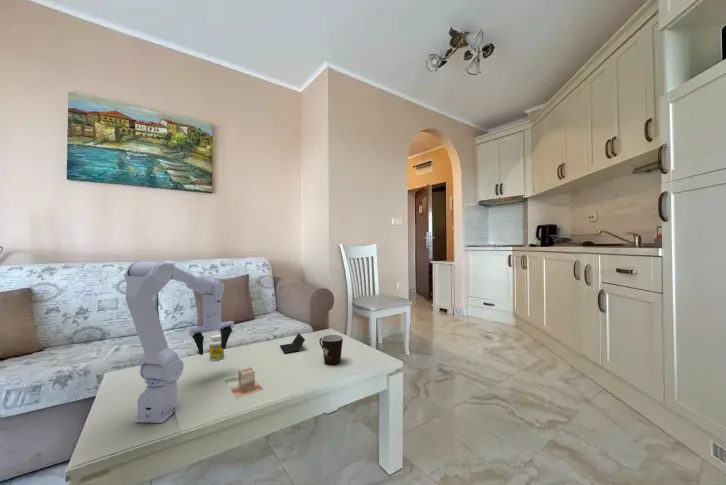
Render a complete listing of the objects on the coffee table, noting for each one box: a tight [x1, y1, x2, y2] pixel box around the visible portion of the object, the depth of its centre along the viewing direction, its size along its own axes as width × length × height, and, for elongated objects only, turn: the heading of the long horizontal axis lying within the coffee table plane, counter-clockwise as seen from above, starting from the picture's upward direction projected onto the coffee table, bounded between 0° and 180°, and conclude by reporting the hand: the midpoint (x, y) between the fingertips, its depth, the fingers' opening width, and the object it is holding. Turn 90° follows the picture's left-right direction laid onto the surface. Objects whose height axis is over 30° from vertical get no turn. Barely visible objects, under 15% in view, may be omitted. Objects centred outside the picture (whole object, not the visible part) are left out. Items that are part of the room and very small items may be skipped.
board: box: [223, 374, 264, 399], centre depth 102 cm, size 18×10×1 cm, turn 38°
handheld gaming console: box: [279, 332, 306, 355], centre depth 138 cm, size 12×7×10 cm
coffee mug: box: [319, 334, 344, 367], centre depth 124 cm, size 12×9×10 cm
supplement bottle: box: [209, 334, 225, 362], centre depth 127 cm, size 5×5×10 cm
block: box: [237, 366, 256, 393], centre depth 98 cm, size 4×4×6 cm
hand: (212, 351), depth 107 cm, fingers open, 7 cm apart
